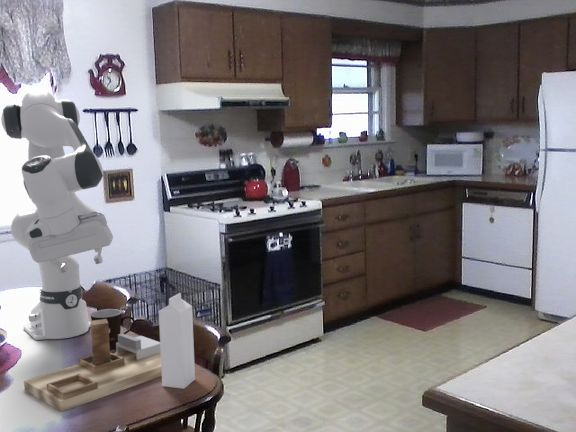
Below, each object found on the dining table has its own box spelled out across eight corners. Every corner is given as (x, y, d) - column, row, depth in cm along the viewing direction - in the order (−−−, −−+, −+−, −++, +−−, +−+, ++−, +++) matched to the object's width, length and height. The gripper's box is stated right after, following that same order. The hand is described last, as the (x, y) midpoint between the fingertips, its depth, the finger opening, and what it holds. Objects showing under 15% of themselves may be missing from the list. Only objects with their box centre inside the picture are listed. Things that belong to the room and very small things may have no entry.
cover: (116, 351, 170) (115, 334, 169) (141, 344, 176) (140, 327, 175) (137, 360, 163) (136, 342, 163) (162, 352, 169) (161, 334, 168)
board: (24, 390, 152) (23, 374, 151) (140, 353, 176) (139, 339, 175) (61, 411, 140) (60, 394, 139) (180, 369, 164) (180, 354, 163)
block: (94, 367, 159) (91, 325, 157) (92, 362, 162) (90, 320, 161) (110, 365, 160) (108, 323, 159) (108, 359, 164) (106, 318, 162)
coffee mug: (86, 350, 180) (84, 316, 178) (104, 340, 188) (102, 308, 186) (120, 354, 176) (118, 319, 174) (138, 344, 184) (136, 311, 182)
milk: (162, 386, 153) (157, 298, 150) (174, 377, 158) (169, 291, 156) (184, 389, 151) (180, 299, 148) (196, 379, 157) (191, 293, 154)
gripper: (104, 204, 158) (122, 251, 165) (25, 224, 159) (46, 270, 165) (99, 215, 153) (119, 263, 159) (18, 235, 153) (40, 282, 159)
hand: (81, 266), depth 162 cm, fingers open, 8 cm apart
